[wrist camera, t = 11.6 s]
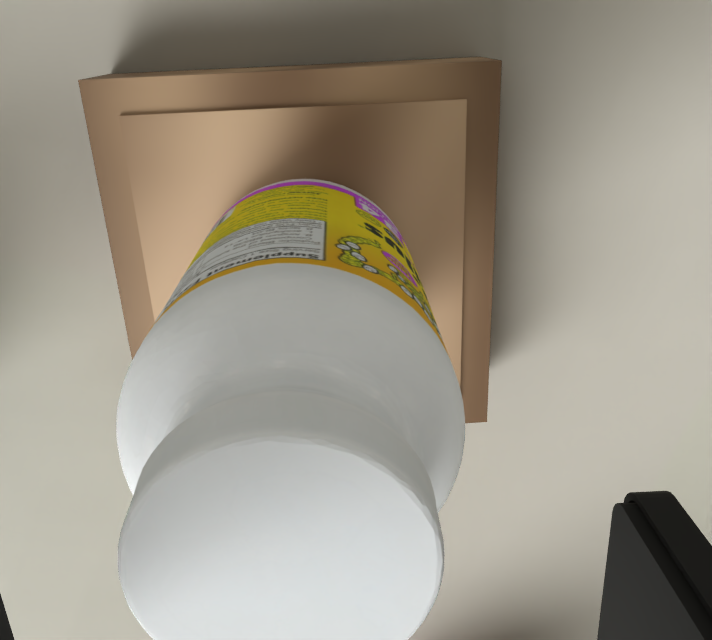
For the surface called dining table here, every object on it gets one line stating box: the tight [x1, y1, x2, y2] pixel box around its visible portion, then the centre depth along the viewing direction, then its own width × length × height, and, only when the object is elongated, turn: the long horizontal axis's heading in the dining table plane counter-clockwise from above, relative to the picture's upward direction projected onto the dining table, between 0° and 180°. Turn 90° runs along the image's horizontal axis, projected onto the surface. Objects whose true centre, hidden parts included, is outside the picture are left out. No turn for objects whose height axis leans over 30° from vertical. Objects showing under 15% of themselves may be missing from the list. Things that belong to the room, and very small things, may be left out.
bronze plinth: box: [78, 57, 502, 423], centre depth 23 cm, size 12×12×3 cm
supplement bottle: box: [116, 179, 465, 640], centre depth 15 cm, size 7×7×13 cm
